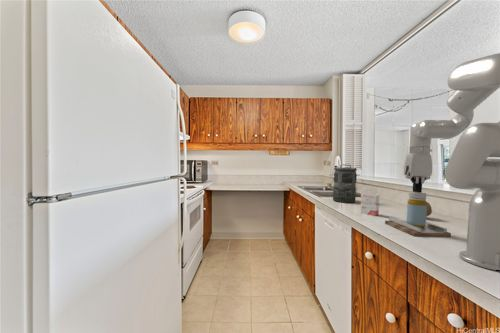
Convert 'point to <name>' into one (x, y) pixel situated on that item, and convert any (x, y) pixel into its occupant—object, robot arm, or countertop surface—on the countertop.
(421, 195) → the bottle
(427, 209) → the natural sponge
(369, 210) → the ink cartridge box
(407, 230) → the walnut board
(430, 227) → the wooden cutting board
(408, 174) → the robot arm
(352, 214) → the countertop surface
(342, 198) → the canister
